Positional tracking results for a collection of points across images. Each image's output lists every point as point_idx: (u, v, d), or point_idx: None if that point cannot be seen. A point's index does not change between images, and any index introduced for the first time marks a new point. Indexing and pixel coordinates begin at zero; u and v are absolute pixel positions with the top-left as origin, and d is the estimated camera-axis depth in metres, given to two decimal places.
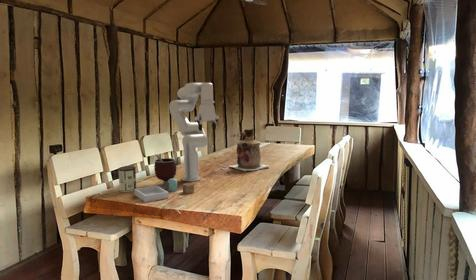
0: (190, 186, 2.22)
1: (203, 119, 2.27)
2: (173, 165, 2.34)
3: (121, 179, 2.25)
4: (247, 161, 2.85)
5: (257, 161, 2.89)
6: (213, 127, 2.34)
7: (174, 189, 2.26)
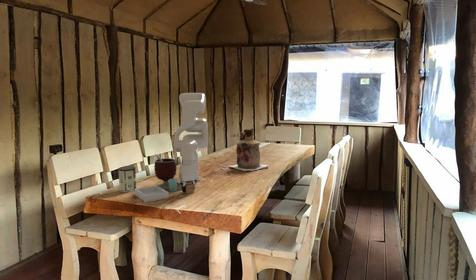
0: (190, 186, 2.22)
1: (183, 180, 2.20)
2: (173, 165, 2.34)
3: (121, 179, 2.25)
4: (247, 161, 2.85)
5: (257, 161, 2.89)
6: None
7: (174, 189, 2.26)
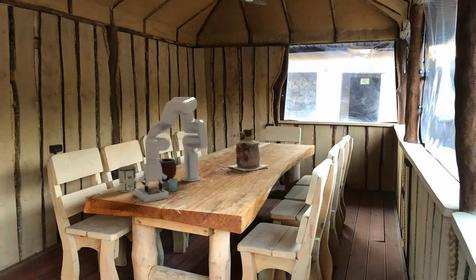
0: (155, 190, 2.10)
1: (148, 180, 2.07)
2: (173, 165, 2.34)
3: (121, 179, 2.25)
4: (246, 161, 2.85)
5: (256, 161, 2.89)
6: (159, 187, 2.14)
7: (174, 189, 2.26)
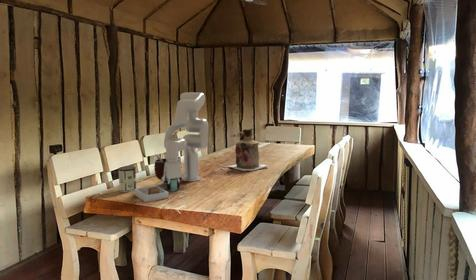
0: (155, 190, 2.10)
1: (168, 177, 2.24)
2: None
3: (121, 179, 2.25)
4: (246, 161, 2.85)
5: (256, 161, 2.89)
6: None
7: (174, 189, 2.26)
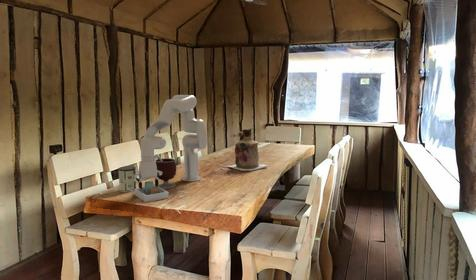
0: (155, 190, 2.10)
1: (143, 177, 2.14)
2: (173, 165, 2.34)
3: (121, 179, 2.25)
4: (245, 161, 2.85)
5: (255, 161, 2.89)
6: (155, 183, 2.21)
7: None
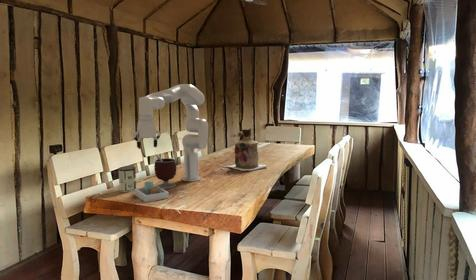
0: (155, 190, 2.10)
1: (141, 136, 2.11)
2: (173, 165, 2.34)
3: (121, 179, 2.25)
4: (245, 161, 2.85)
5: (255, 161, 2.89)
6: (154, 144, 2.18)
7: None
